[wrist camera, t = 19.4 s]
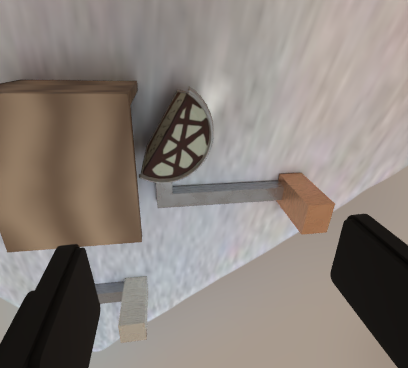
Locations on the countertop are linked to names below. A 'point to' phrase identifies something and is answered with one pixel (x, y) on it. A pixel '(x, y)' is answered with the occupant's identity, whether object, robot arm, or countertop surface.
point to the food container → (179, 140)
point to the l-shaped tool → (128, 306)
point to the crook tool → (259, 198)
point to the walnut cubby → (67, 164)
